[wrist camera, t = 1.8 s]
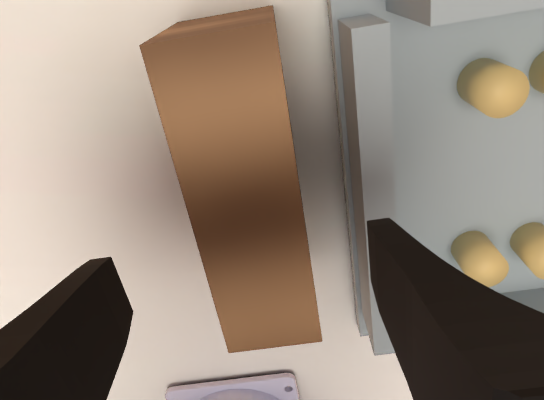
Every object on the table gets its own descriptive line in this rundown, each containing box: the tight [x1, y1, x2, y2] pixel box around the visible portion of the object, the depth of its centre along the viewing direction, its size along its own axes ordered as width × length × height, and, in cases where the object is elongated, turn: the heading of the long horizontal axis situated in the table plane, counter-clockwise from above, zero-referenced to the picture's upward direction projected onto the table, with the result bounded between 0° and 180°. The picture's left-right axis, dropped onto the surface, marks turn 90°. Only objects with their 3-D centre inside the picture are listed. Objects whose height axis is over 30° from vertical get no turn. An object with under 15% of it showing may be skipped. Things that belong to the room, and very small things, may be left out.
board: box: [139, 5, 322, 353], centre depth 17 cm, size 12×4×6 cm, turn 9°
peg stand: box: [327, 0, 544, 355], centre depth 17 cm, size 18×14×6 cm
